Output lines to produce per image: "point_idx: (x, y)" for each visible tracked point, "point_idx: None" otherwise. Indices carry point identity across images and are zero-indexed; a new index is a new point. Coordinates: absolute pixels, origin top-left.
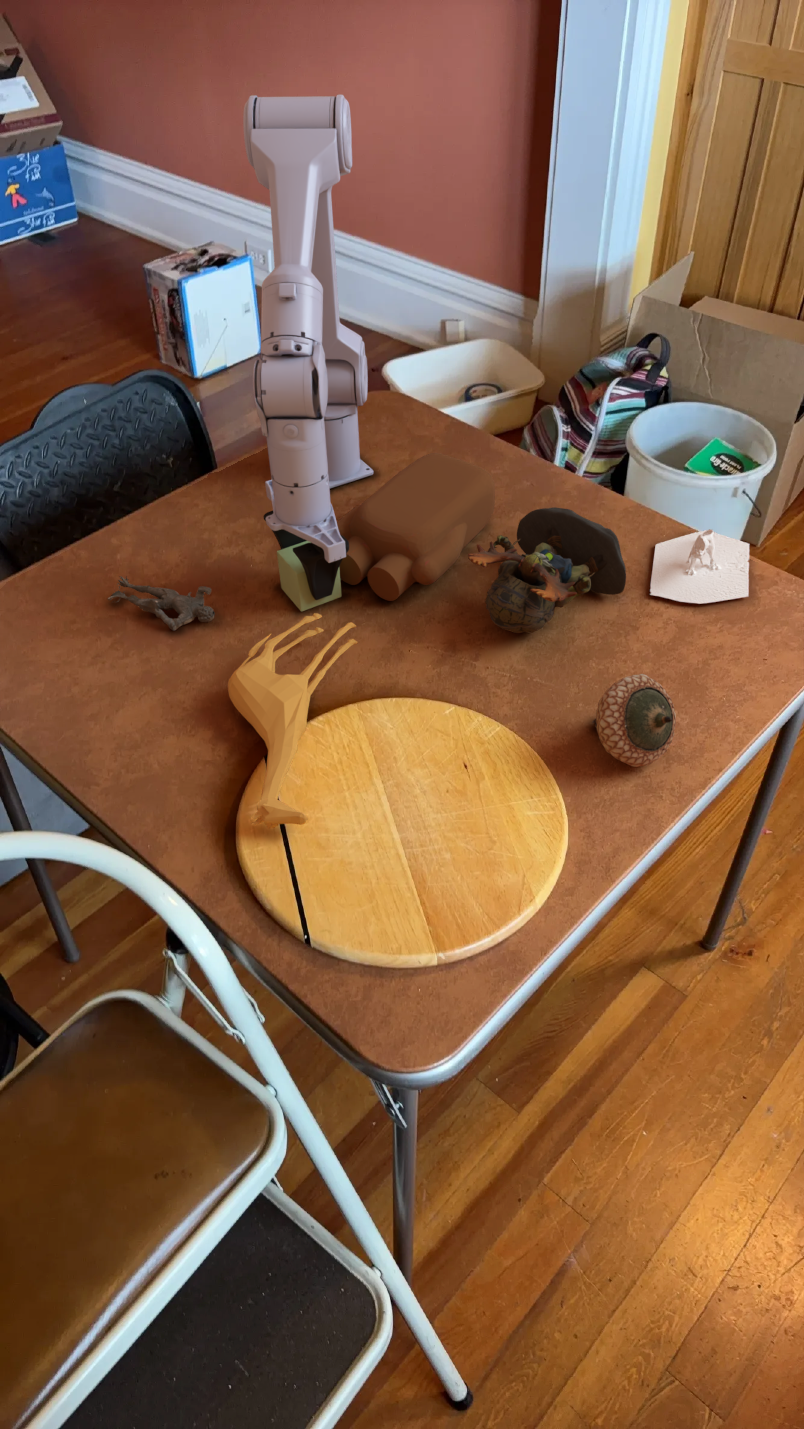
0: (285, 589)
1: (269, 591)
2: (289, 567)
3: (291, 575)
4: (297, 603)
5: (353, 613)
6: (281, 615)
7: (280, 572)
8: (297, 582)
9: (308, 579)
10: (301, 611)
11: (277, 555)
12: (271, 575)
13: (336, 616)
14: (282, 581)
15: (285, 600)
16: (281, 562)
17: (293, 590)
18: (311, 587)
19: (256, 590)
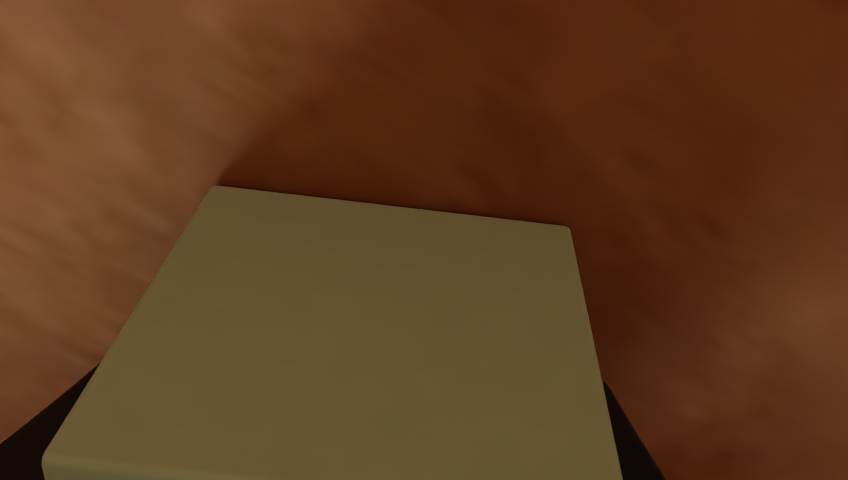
0: (478, 237)
1: (607, 136)
2: (265, 461)
3: (253, 388)
4: (256, 212)
5: (37, 405)
6: (257, 40)
7: (555, 328)
8: (101, 370)
9: (21, 470)
10: (213, 187)
11: (606, 478)
12: (766, 253)
13: (52, 325)
14: (528, 273)
15: (416, 169)
16: (503, 435)
17: (287, 273)
18: (48, 409)
19: (704, 58)
